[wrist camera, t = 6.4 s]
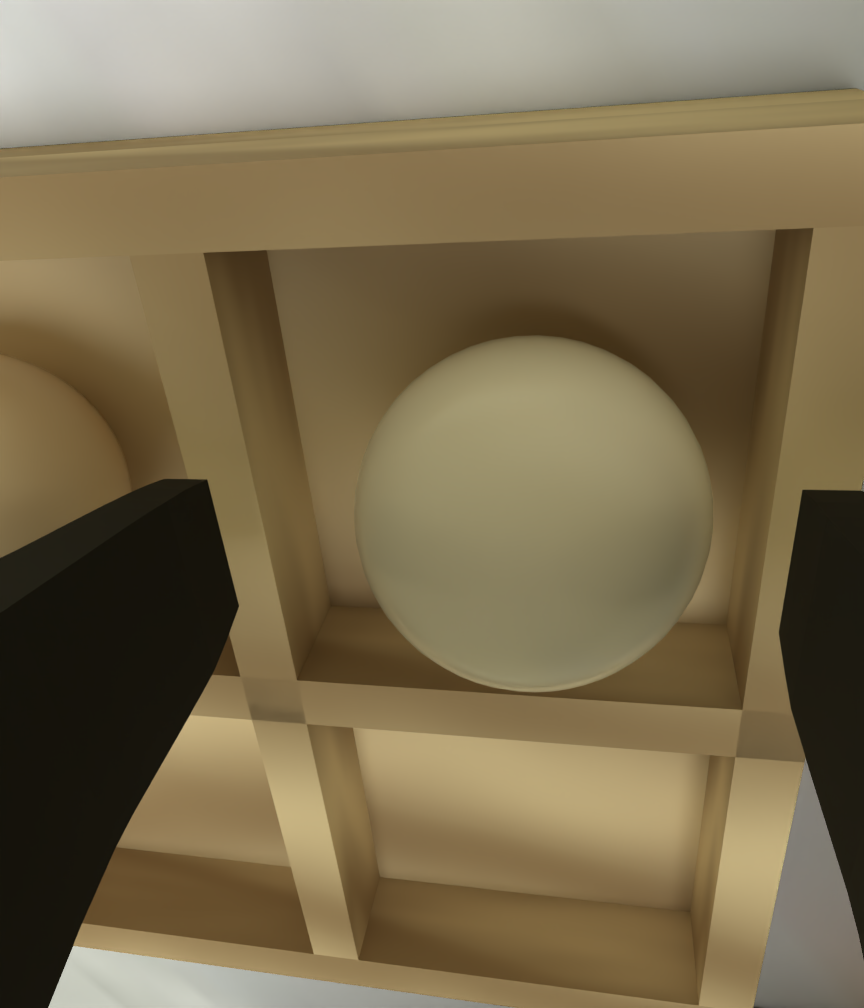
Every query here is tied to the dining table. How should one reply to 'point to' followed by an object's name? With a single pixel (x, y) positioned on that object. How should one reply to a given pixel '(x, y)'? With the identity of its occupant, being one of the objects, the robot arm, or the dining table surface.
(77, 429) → the tan ball
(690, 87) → the dining table surface
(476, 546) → the white egg
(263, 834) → the egg rack
